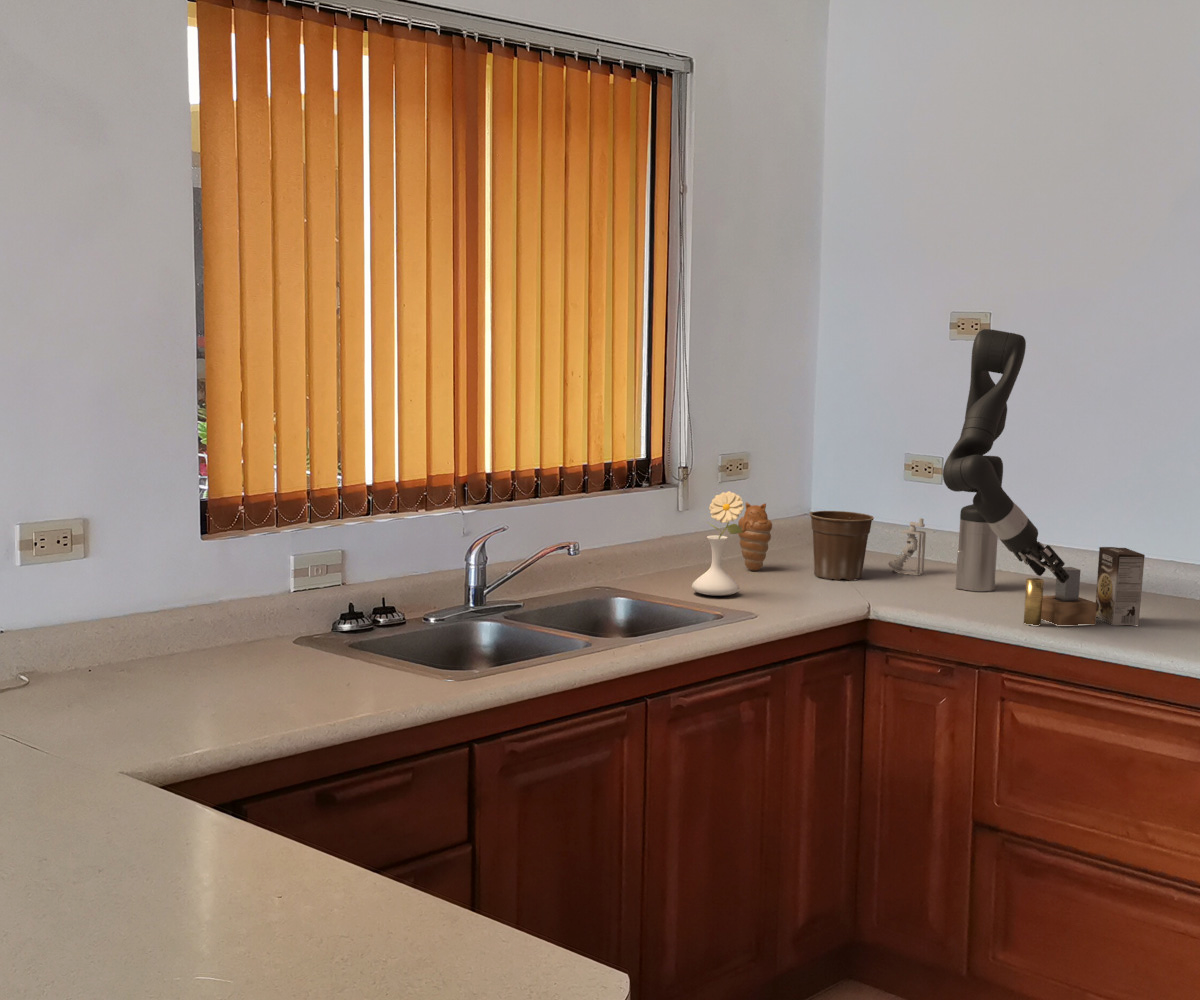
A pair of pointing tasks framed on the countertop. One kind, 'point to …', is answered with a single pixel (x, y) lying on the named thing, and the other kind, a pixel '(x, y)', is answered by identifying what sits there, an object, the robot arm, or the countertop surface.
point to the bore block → (1068, 611)
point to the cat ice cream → (754, 535)
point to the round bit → (1033, 601)
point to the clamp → (911, 549)
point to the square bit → (1068, 586)
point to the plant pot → (839, 543)
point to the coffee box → (1119, 585)
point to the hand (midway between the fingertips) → (1053, 576)
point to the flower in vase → (720, 547)
